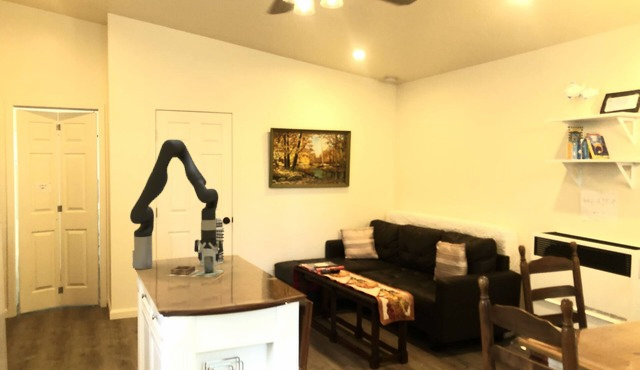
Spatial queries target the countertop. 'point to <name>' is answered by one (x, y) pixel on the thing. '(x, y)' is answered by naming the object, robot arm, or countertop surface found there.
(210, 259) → the end cover
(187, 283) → the countertop surface
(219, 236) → the decorative candle
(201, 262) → the skincare box
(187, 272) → the caddy
